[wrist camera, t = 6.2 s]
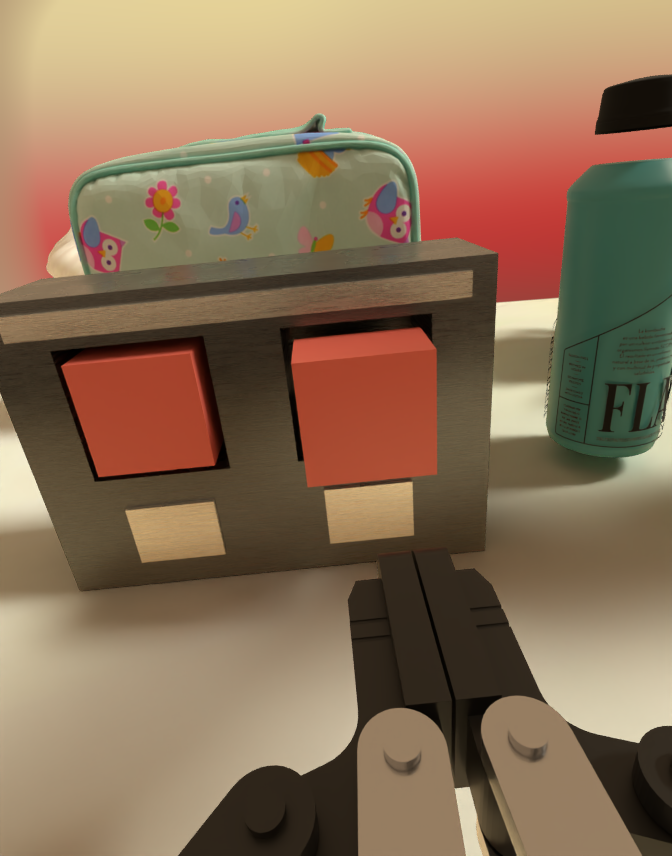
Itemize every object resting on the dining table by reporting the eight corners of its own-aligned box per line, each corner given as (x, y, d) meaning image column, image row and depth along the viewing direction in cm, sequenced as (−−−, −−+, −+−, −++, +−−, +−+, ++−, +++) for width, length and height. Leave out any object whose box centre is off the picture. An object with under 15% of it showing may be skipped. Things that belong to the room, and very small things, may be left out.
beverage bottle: (587, 492, 29) (649, 64, 20) (519, 442, 35) (545, 93, 26) (683, 468, 30) (780, 56, 22) (602, 423, 36) (653, 85, 27)
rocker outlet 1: (231, 417, 26) (212, 321, 24) (215, 465, 22) (190, 353, 20) (134, 426, 26) (107, 332, 24) (98, 477, 22) (61, 366, 20)
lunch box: (420, 363, 51) (415, 112, 42) (440, 403, 42) (439, 92, 32) (155, 386, 52) (92, 145, 43) (117, 431, 43) (26, 135, 33)
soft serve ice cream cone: (64, 365, 61) (16, 222, 54) (125, 345, 67) (89, 214, 60) (103, 375, 57) (56, 219, 50) (165, 352, 62) (131, 210, 56)
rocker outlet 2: (413, 420, 24) (410, 314, 22) (436, 474, 20) (436, 349, 18) (308, 430, 24) (295, 326, 22) (307, 487, 20) (291, 363, 18)
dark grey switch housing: (454, 485, 31) (457, 237, 25) (486, 553, 25) (500, 253, 19) (120, 518, 31) (41, 279, 25) (78, 593, 25) (-38, 307, 19)
